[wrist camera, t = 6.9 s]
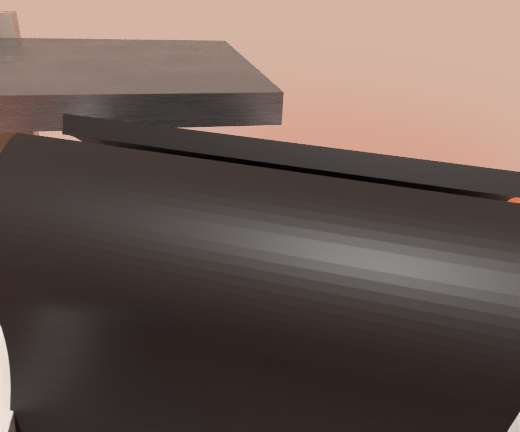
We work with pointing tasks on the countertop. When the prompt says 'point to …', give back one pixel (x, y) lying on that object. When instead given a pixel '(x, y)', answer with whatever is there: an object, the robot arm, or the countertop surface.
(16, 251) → the phone stand
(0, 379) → the robot arm
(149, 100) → the trapdoor
